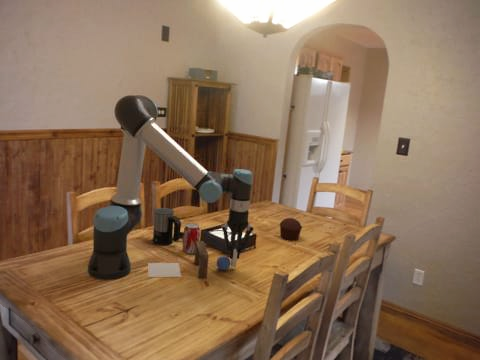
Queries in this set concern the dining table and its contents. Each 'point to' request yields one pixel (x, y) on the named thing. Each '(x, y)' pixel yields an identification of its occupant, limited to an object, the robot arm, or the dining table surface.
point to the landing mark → (163, 270)
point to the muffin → (290, 229)
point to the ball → (223, 263)
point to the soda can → (190, 237)
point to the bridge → (201, 259)
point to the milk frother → (166, 227)
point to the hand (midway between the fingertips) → (233, 265)
